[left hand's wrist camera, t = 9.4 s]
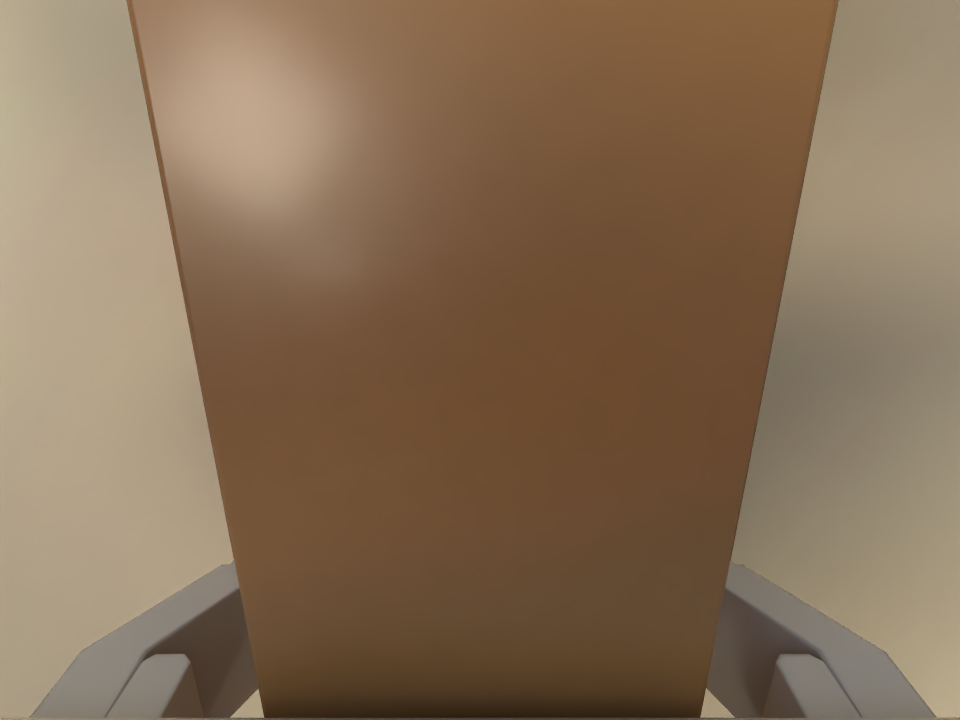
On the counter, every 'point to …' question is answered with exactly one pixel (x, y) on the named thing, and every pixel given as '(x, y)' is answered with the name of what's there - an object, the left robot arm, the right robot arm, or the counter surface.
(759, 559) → the counter surface
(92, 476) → the counter surface
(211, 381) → the post
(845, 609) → the counter surface
